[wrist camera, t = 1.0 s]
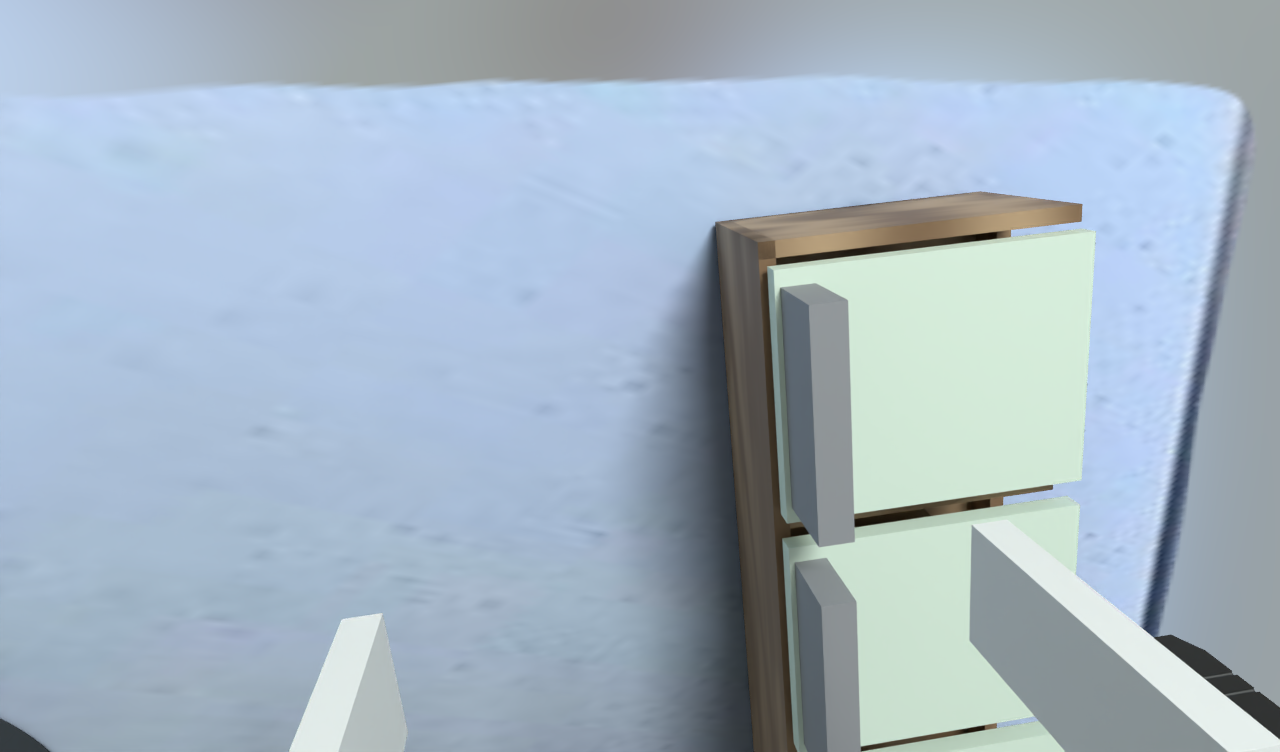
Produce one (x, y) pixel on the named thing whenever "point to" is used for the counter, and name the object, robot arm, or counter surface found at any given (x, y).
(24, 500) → the counter surface
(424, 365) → the counter surface
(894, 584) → the lid
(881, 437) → the lid
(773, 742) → the box
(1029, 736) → the lid
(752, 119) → the counter surface
